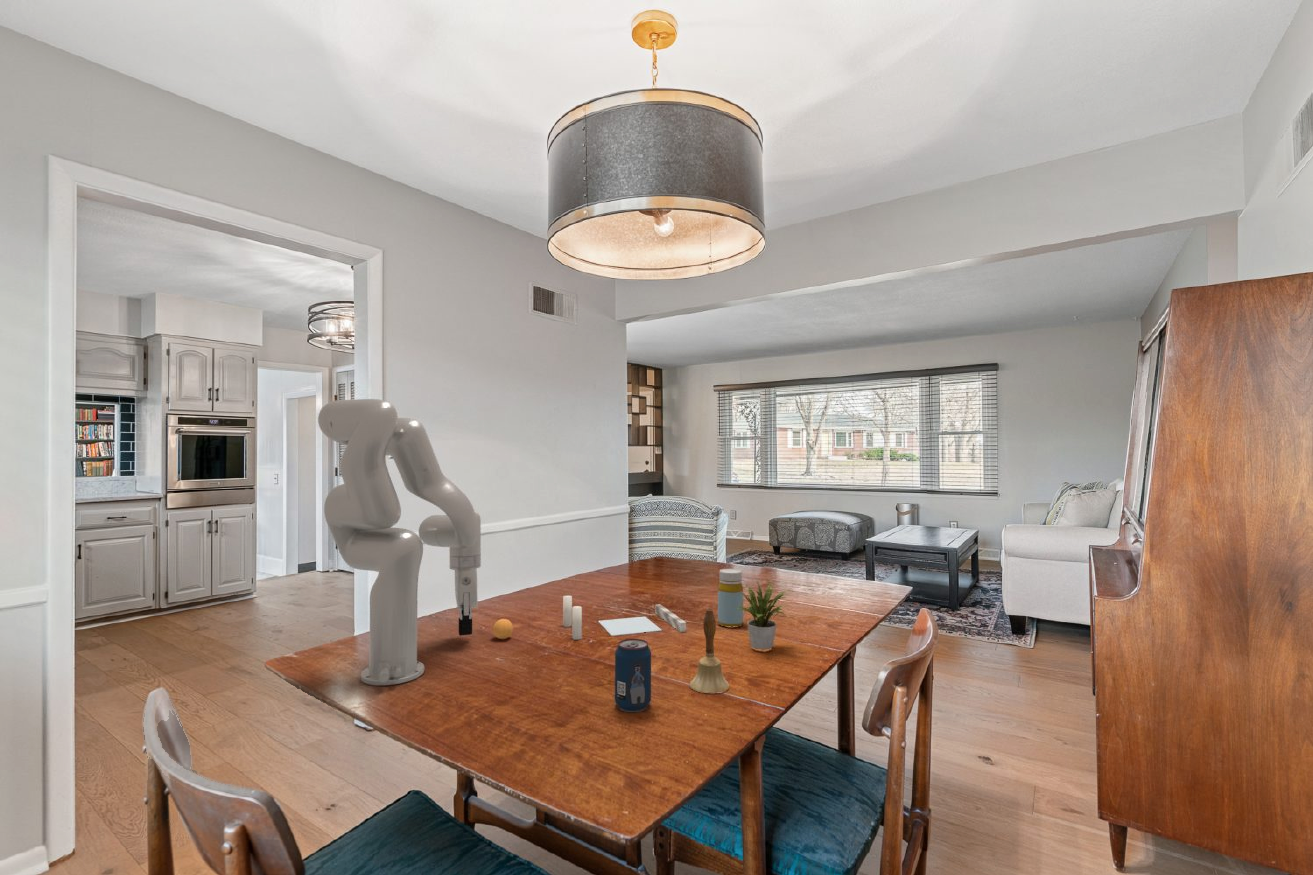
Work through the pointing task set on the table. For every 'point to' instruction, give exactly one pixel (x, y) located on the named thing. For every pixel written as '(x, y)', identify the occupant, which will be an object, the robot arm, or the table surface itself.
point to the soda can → (632, 675)
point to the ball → (502, 628)
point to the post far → (567, 611)
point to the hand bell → (709, 662)
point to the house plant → (762, 617)
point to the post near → (576, 622)
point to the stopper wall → (670, 618)
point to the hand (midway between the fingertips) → (465, 633)
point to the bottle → (730, 598)
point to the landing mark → (629, 626)
